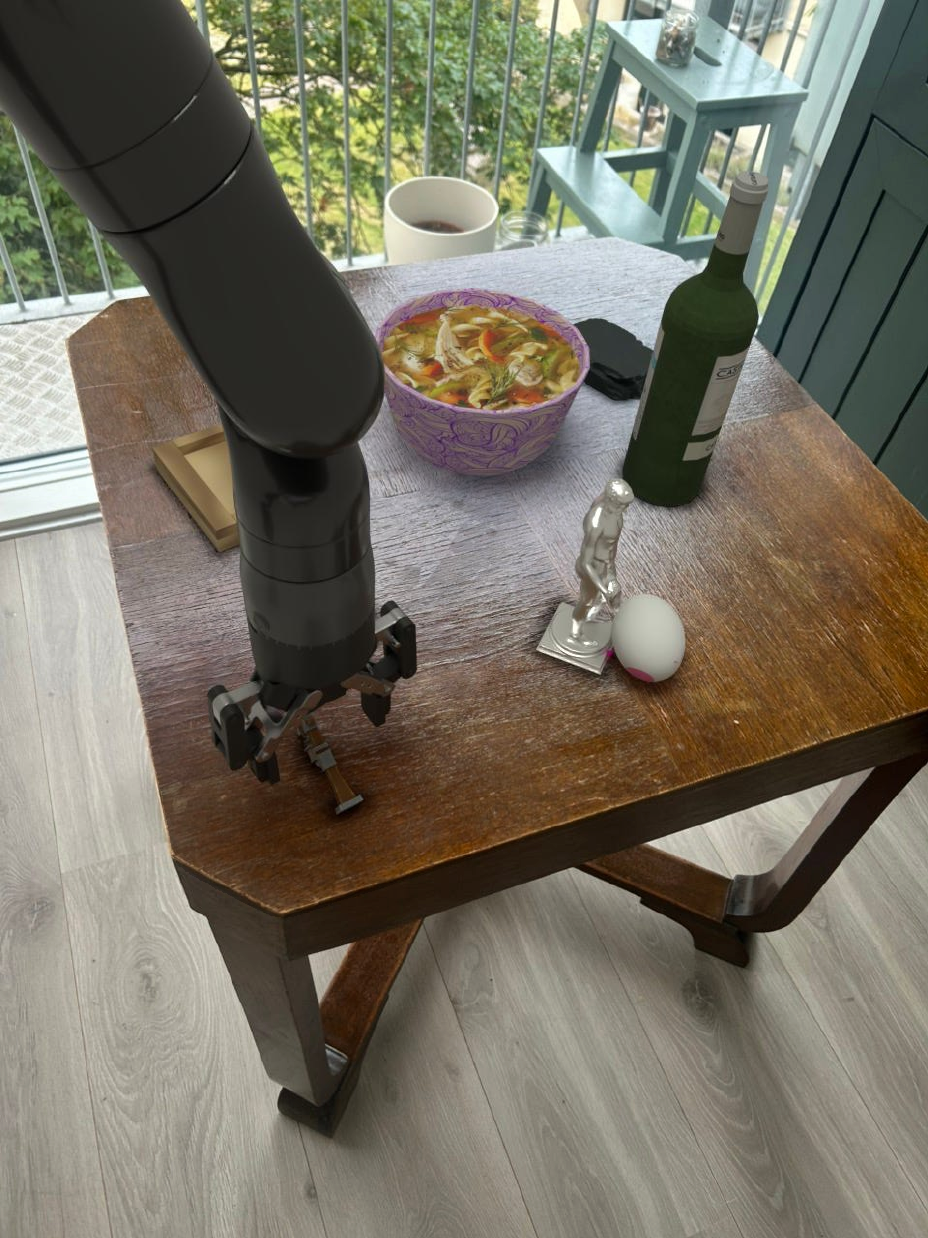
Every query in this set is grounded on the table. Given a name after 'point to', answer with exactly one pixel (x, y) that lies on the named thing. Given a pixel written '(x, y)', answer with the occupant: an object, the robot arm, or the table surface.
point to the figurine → (592, 586)
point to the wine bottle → (697, 360)
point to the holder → (202, 481)
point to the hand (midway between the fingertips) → (322, 745)
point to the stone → (614, 358)
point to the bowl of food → (480, 377)
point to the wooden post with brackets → (326, 763)
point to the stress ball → (648, 637)
